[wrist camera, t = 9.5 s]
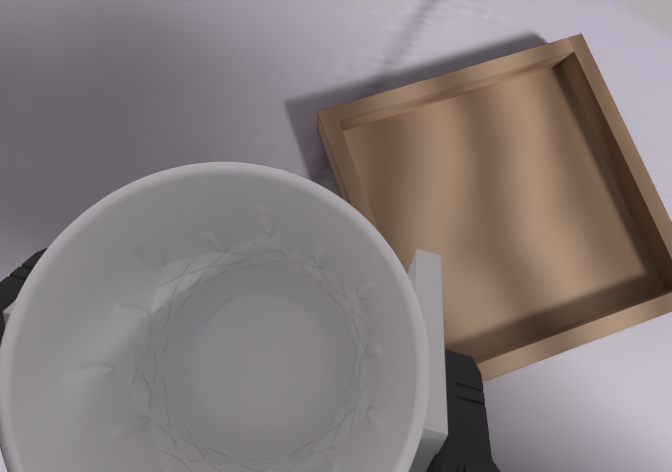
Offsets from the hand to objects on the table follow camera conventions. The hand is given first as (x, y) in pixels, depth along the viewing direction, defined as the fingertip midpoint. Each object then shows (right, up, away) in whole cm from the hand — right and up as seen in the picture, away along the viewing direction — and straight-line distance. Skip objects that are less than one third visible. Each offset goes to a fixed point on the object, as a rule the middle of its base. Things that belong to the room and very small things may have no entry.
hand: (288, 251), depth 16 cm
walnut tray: (+12, +2, +16) cm, 20 cm away
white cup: (-1, -4, +3) cm, 5 cm away
